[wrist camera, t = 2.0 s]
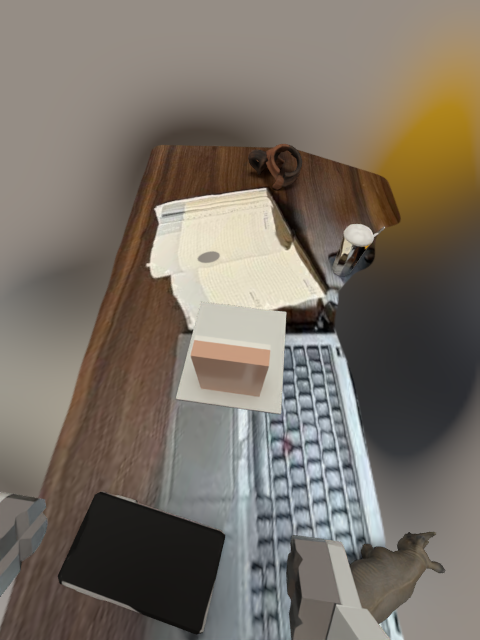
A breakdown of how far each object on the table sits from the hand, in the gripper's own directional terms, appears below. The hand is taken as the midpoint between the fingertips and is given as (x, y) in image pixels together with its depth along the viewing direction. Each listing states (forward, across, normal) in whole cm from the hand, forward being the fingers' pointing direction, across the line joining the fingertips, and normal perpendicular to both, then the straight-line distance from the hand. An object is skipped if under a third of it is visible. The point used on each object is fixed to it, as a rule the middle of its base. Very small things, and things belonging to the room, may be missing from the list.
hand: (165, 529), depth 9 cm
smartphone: (+14, +6, +23) cm, 28 cm away
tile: (+27, 0, +9) cm, 29 cm away
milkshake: (+45, -18, -7) cm, 48 cm away
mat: (+31, 0, +6) cm, 32 cm away
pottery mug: (+64, -3, -26) cm, 69 cm away
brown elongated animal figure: (+15, -17, +22) cm, 32 cm away
